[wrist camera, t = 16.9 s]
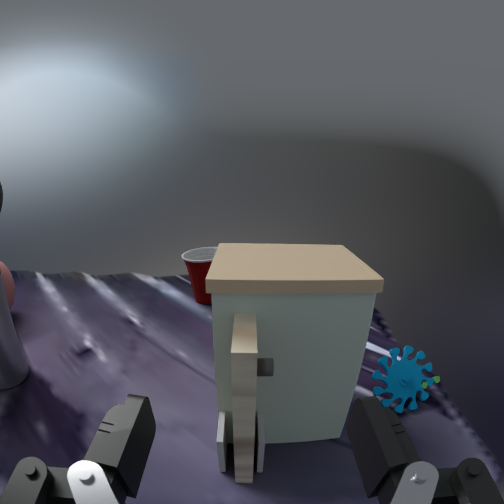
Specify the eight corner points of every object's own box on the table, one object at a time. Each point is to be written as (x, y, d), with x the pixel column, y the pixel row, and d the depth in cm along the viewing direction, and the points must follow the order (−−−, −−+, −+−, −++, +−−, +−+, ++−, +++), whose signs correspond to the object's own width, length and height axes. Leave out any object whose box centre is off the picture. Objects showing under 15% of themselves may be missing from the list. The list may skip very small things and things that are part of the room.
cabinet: (351, 463, 26) (405, 297, 20) (214, 471, 25) (197, 299, 20) (323, 379, 42) (341, 245, 36) (223, 381, 42) (219, 243, 36)
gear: (367, 408, 33) (381, 339, 37) (355, 409, 38) (369, 347, 42) (435, 415, 30) (445, 350, 35) (418, 416, 35) (428, 357, 40)
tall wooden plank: (264, 482, 24) (275, 352, 19) (235, 482, 24) (230, 352, 19) (262, 443, 30) (269, 313, 25) (236, 443, 30) (234, 313, 25)
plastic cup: (179, 294, 74) (177, 248, 71) (219, 288, 78) (219, 244, 75) (190, 312, 64) (187, 260, 61) (235, 305, 69) (235, 255, 66)
